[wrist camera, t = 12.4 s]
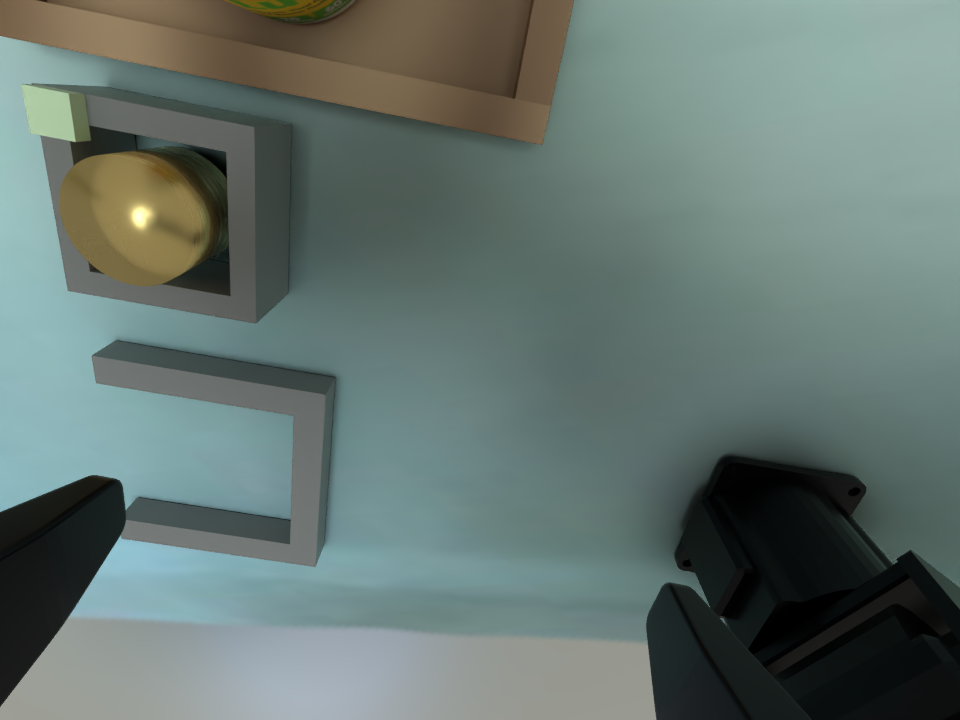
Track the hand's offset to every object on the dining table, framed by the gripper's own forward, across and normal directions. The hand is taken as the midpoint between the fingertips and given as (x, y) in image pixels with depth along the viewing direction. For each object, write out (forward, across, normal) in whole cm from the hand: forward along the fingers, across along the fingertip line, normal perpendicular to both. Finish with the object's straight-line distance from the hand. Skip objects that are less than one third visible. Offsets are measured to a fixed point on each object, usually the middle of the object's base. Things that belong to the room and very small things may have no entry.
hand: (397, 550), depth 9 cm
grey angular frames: (+12, +9, +4) cm, 16 cm away
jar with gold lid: (+11, +9, -2) cm, 15 cm away
